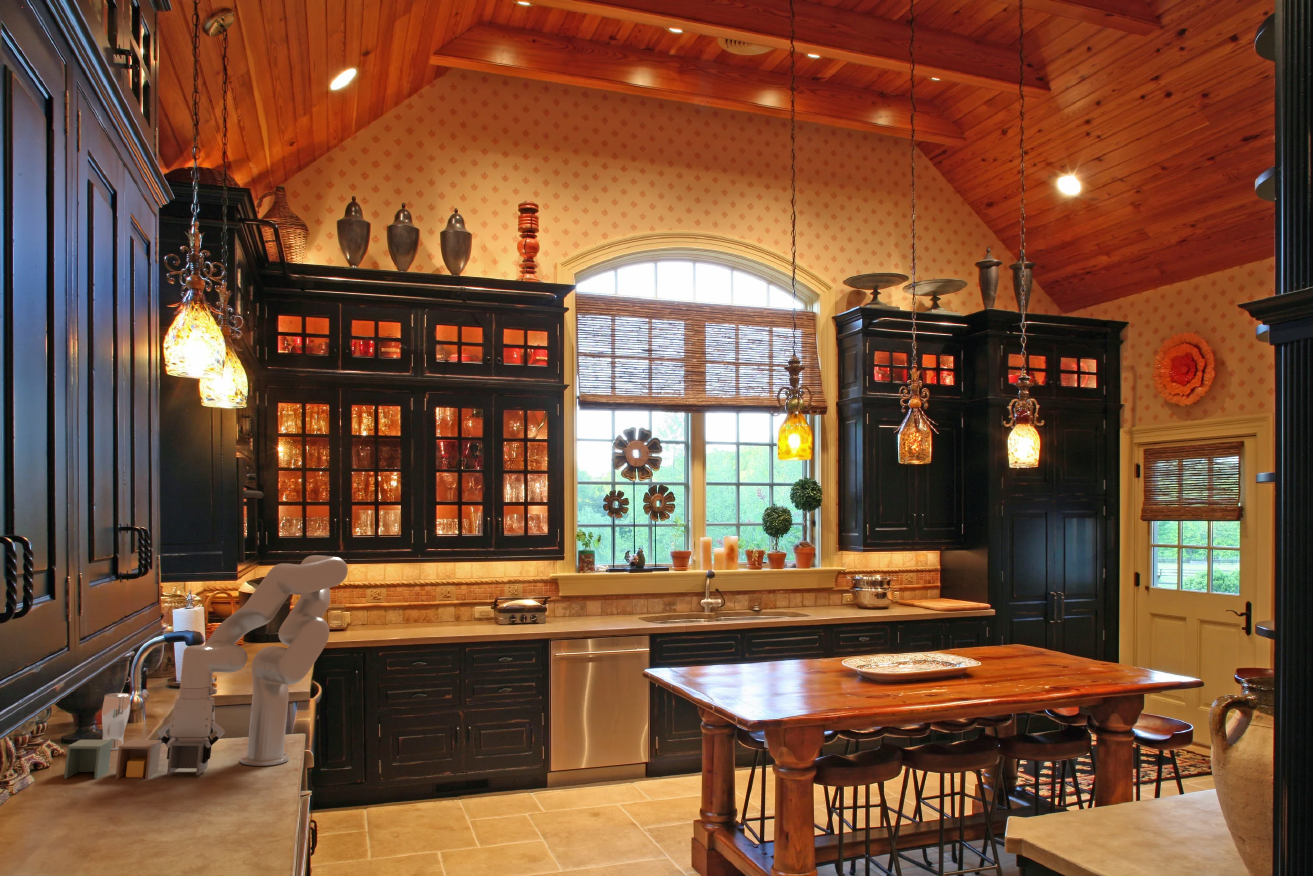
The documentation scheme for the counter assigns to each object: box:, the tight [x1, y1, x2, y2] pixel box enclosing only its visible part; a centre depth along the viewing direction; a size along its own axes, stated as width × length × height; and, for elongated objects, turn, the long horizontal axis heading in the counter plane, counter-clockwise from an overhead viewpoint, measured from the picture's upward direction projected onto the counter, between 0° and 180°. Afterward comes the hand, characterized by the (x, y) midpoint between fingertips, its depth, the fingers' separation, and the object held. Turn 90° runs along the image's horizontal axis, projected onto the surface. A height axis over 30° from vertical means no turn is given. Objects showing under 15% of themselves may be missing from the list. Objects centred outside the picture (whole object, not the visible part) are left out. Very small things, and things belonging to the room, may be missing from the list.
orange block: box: [125, 758, 147, 778], centre depth 237 cm, size 4×4×4 cm
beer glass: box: [101, 692, 131, 751], centre depth 264 cm, size 7×7×15 cm
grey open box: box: [166, 738, 209, 776], centre depth 240 cm, size 8×8×8 cm
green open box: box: [63, 739, 112, 780], centre depth 235 cm, size 8×8×8 cm
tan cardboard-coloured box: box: [115, 739, 162, 780], centre depth 237 cm, size 8×8×8 cm
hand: (188, 761), depth 239 cm, fingers closed on grey open box, 7 cm apart
